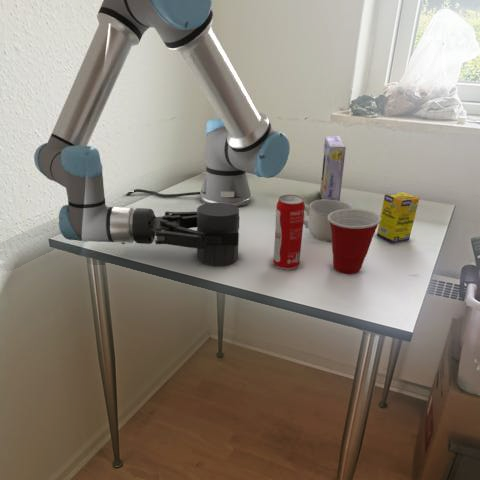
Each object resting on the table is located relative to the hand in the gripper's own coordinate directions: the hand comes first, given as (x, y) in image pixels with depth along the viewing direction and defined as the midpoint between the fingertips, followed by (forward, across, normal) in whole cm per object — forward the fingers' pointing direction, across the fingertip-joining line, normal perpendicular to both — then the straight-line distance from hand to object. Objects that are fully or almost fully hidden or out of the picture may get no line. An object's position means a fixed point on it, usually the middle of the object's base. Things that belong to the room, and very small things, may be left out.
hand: (238, 230), depth 102 cm
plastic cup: (+24, +3, -7) cm, 25 cm away
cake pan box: (+27, -47, -7) cm, 55 cm away
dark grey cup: (-4, 0, -6) cm, 8 cm away
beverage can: (+11, +2, -7) cm, 13 cm away
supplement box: (+39, -17, -7) cm, 43 cm away
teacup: (+21, -16, -7) cm, 27 cm away
